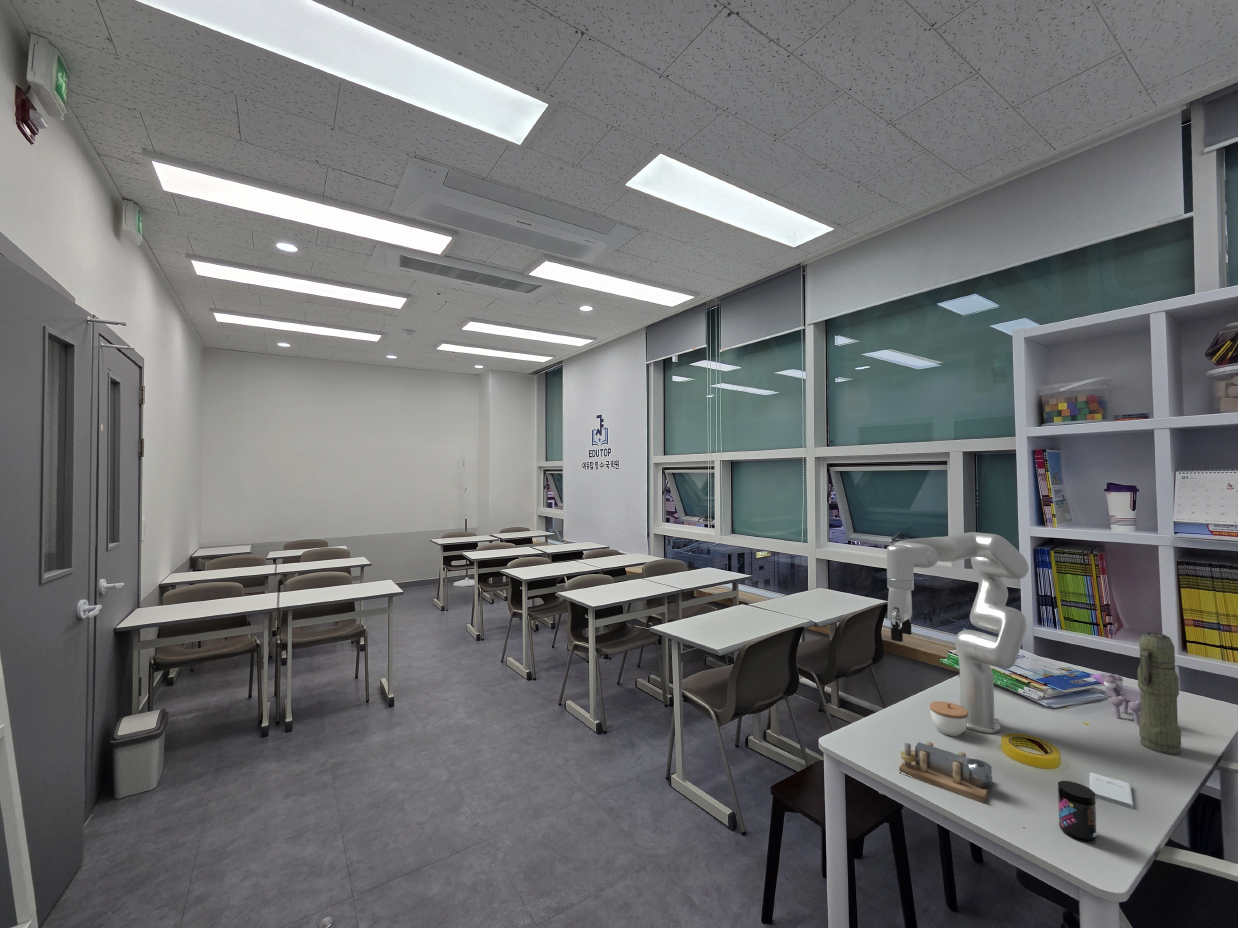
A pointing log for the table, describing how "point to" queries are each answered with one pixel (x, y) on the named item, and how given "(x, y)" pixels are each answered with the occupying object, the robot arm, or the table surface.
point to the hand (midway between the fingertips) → (901, 637)
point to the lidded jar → (949, 717)
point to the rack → (939, 775)
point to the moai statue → (1158, 694)
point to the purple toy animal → (1128, 695)
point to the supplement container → (1077, 811)
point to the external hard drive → (1111, 790)
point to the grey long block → (943, 761)
